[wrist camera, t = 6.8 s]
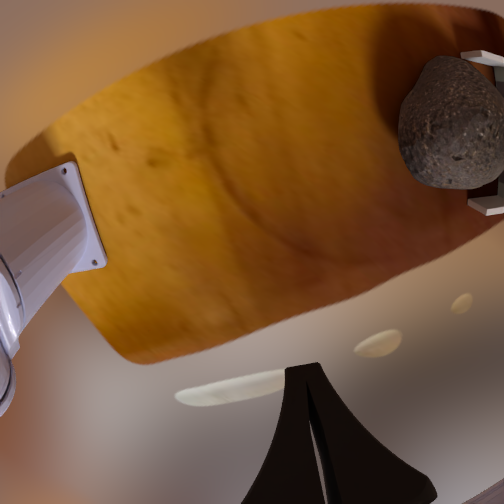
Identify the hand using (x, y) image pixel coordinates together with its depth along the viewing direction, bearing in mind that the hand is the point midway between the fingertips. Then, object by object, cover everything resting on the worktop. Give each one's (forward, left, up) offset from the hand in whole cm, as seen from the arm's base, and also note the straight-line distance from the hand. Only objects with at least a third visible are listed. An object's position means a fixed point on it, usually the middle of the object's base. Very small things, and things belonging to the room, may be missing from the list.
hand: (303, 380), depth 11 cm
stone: (+13, +8, -11) cm, 19 cm away
